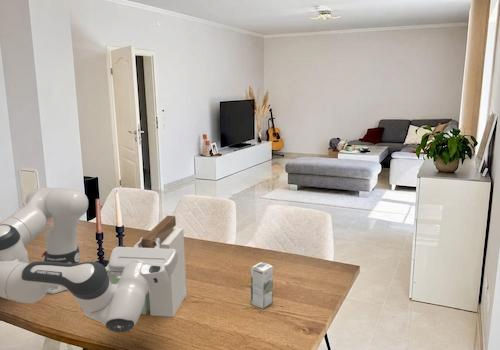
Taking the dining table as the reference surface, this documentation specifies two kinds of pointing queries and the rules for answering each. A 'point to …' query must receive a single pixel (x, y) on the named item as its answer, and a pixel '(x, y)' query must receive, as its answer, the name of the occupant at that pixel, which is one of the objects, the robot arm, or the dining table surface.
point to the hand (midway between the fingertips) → (150, 238)
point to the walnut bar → (159, 231)
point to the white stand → (170, 279)
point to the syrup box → (262, 285)
